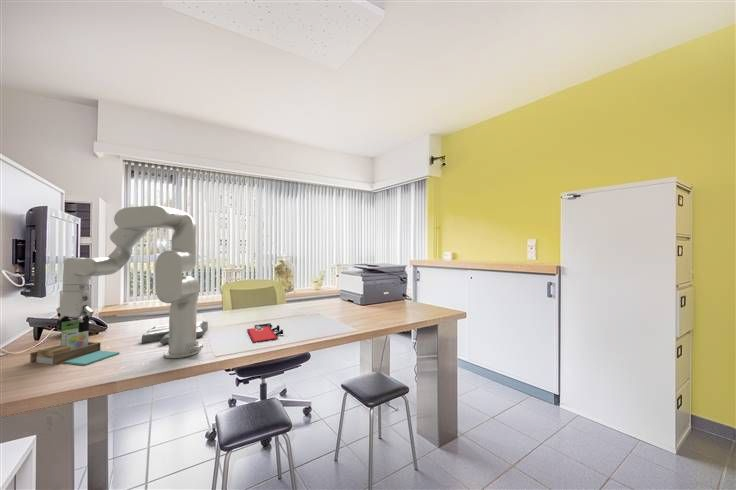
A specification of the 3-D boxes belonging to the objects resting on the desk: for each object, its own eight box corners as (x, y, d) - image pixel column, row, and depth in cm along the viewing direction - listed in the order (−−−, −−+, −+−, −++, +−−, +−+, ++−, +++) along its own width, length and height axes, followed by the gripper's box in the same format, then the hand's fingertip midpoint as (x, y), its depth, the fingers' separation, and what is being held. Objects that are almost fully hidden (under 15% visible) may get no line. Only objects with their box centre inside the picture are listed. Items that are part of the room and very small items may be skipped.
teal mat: (119, 353, 117) (119, 352, 117) (85, 365, 105) (85, 363, 105) (99, 351, 119) (99, 350, 119) (64, 363, 107) (64, 361, 107)
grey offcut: (70, 359, 112) (70, 353, 112) (52, 365, 106) (52, 358, 106) (54, 358, 113) (54, 351, 113) (36, 363, 108) (36, 356, 108)
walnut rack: (100, 350, 120) (100, 342, 120) (55, 365, 106) (55, 355, 106) (77, 348, 123) (77, 340, 123) (30, 362, 108) (30, 353, 108)
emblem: (177, 317, 159) (221, 320, 153) (177, 327, 159) (221, 330, 153) (125, 331, 132) (177, 335, 126) (125, 343, 131) (177, 348, 126)
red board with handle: (273, 324, 166) (245, 328, 158) (273, 319, 166) (245, 323, 158) (286, 339, 139) (252, 345, 132) (286, 333, 139) (252, 338, 132)
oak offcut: (70, 353, 112) (70, 346, 112) (53, 358, 107) (53, 351, 107) (54, 351, 113) (54, 345, 113) (37, 356, 108) (37, 350, 108)
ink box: (66, 357, 113) (67, 323, 113) (60, 356, 114) (61, 322, 114) (88, 351, 119) (89, 319, 119) (82, 350, 120) (83, 318, 121)
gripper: (103, 288, 119) (101, 329, 119) (70, 285, 122) (68, 326, 122) (82, 290, 112) (80, 335, 111) (47, 288, 115) (45, 331, 115)
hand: (73, 330), depth 117 cm, fingers open, 9 cm apart
